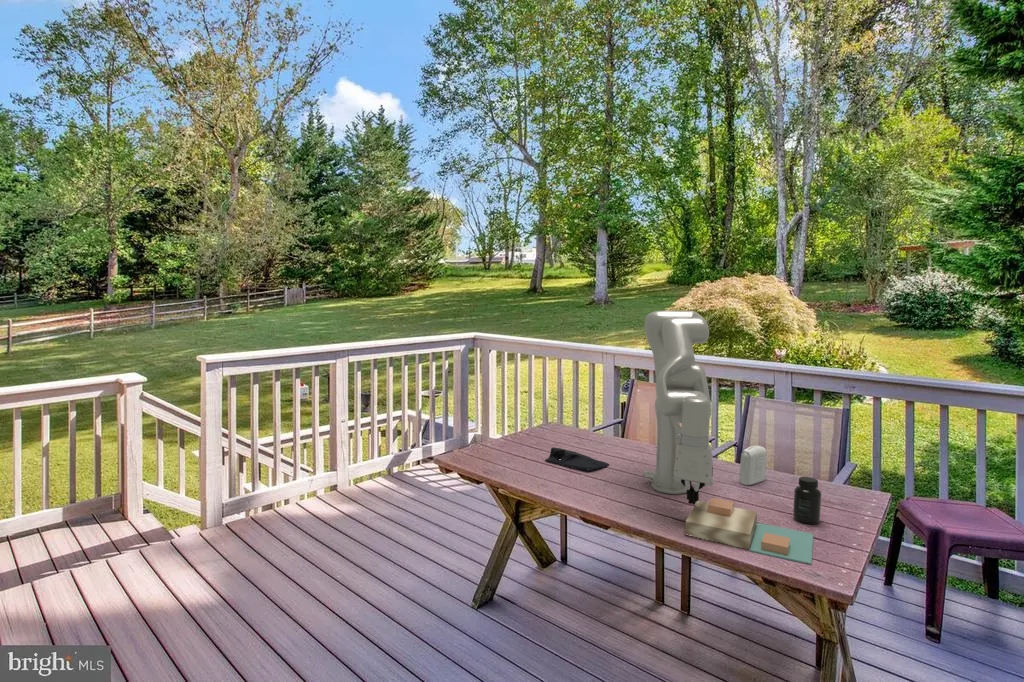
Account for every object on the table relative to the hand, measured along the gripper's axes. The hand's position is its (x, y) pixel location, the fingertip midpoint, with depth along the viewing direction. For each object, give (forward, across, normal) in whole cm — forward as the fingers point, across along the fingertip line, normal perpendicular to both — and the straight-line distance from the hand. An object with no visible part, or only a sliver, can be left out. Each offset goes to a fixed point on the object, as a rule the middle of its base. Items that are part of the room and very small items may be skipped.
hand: (692, 502), depth 161 cm
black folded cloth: (+5, -48, +29) cm, 56 cm away
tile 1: (0, +8, 0) cm, 8 cm away
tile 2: (+3, +22, -8) cm, 24 cm away
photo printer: (+5, +11, +40) cm, 42 cm away
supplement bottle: (+5, +29, +15) cm, 33 cm away
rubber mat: (+5, +24, -4) cm, 25 cm away
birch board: (+5, +9, -4) cm, 11 cm away
